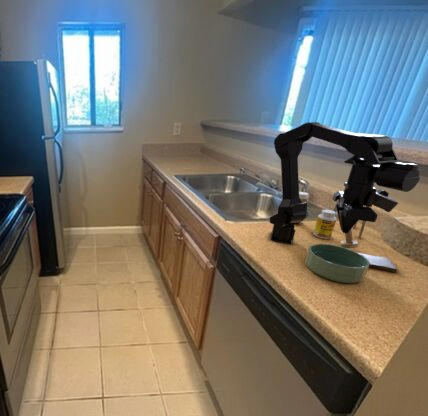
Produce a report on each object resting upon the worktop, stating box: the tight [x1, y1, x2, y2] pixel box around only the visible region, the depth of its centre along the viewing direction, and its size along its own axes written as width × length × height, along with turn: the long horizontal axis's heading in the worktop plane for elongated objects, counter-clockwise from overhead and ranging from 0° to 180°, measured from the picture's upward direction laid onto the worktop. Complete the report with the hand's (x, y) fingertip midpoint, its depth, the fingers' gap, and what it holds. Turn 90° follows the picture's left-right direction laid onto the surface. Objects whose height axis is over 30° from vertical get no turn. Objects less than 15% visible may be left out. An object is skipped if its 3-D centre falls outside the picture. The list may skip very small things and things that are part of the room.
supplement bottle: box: [312, 209, 338, 240], centre depth 104 cm, size 6×6×10 cm
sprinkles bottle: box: [299, 191, 310, 225], centre depth 115 cm, size 5×5×13 cm
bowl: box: [304, 243, 370, 284], centre depth 83 cm, size 14×14×6 cm
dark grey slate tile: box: [358, 252, 398, 273], centre depth 88 cm, size 9×7×1 cm
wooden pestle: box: [340, 210, 360, 249], centre depth 82 cm, size 4×4×11 cm
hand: (344, 231), depth 82 cm, fingers closed on wooden pestle, 2 cm apart
